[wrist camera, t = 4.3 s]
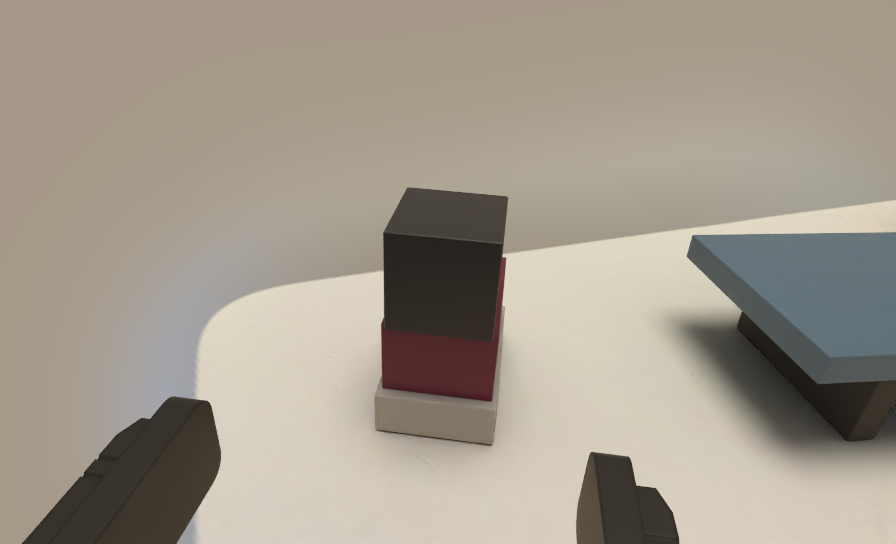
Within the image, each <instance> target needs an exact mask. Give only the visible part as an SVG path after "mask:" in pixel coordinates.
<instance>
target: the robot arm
mask: <svg viewBox="0 0 896 544" xmlns="http://www.w3.org/2000/svg"><path fill="white" fill-rule="evenodd" d="M220 461H221V450H220V445H219V440H218V435H217V431H216V426H215V421H214V416H213V412H212V407H211V405H210V403H209V402H208V401H204V400H196V399H188V398H181V397H170V398H168V399H167V400H166V401H165V402H164V403H163V404H162V405H161V407H160V408H159V409H158V410H157V411H156V413H155V414H154V415H153V416H152V418H151V419H145V418H141V419H139V420H138V421H136V422H135V423H133V424H132V425H130V426H129V427H128V428H126V429H125V430H123V431H122V432H120V433H119V434H117V435H116V436H115V437H114V438H113V440H112V441H111V442H110V443H109V444H108V445H107V446H106V448H105V449H104V450H103V451H102V452H101V453H100V455H99V458H98V460H95V461H94V462H93V463H92V464H91V465H90V466H89V467H88V468H87V470H86V471H85V472H84V476H83V477H80V478H79V479H78V480H77V481H76V482H75V483H74V485H73V486H72V487H71V488H70V489H69V490H68V491H67V493H66V494H65V495H64V496H63V497H62V498H61V499H60V501H59V502H58V503H57V504H56V505H55V507H54V508H53V509H52V510H51V511H50V512H49V513H48V514H47V516H46V517H45V518H44V519H43V520H42V521H41V523H40V524H39V525H38V526H37V527H36V528H35V530H34V531H33V532H32V533H31V534H30V535H29V536H28V538H27V539H26V540H25V541H24V542H23V543H22V544H176V543H177V542H178V540H179V538H180V537H181V535H182V533H183V532H184V530H185V529H186V527H187V525H188V524H189V522H190V520H191V519H192V517H193V515H194V514H195V512H196V510H197V509H198V507H199V505H200V504H201V502H202V500H203V499H204V497H205V496H206V494H207V492H208V491H209V489H210V487H211V486H212V484H213V482H214V480H215V478H216V476H217V473H218V470H219V467H220ZM576 533H577V544H679V536H678V532H677V528H676V524H675V520H674V516H673V512H672V511H671V509H670V508H669V507H668V505H667V504H666V502H665V501H664V499H663V498H662V496H661V495H660V493H659V492H658V491H657V489H656V488H650V487H642V486H636V483H635V478H634V472H633V467H632V463H631V460H630V458H629V457H627V456H619V455H611V454H603V453H596V452H591V453H590V455H589V458H588V463H587V467H586V471H585V476H584V480H583V484H582V489H581V493H580V497H579V502H578V508H577V521H576Z"/></svg>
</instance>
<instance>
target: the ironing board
mask: <svg viewBox="0 0 896 544" xmlns="http://www.w3.org/2000/svg"><path fill="white" fill-rule="evenodd" d="M687 257H688V258H689V259H690V260H691V261H692V262H693V263H694V264H695V265H696V266H697V267H698V268H699V269H700V270H701V271H702V272H703V273H704V274H705V275H706V276H707V277H708V278H709V279H710V280H711V281H712V282H713V283H714V284H715V285H716V286H717V287H718V288H719V289H720V290H721V291H722V292H723V293H725V294H726V295H727V296H728V297H729V298H730V299H731V300H732V301H733V302H734V303H735V304H736V305H737V306H738V307H739V308H740V309H741V310H742V313H741V316H740V319H739V321H738V324H737V327H738V329H739V330H740V331H741V332H742V333H743V334H744V335H745V336H746V337H747V338H748V339H749V340H750V341H751V342H752V343H753V344H754V345H755V346H756V347H757V348H758V349H759V350H760V351H761V352H762V353H763V354H764V355H765V356H766V357H767V358H768V359H769V360H770V362H771V363H772V364H773V365H774V366H775V367H776V368H777V369H778V370H779V371H780V372H781V373H782V374H783V375H784V376H785V377H786V378H787V379H788V380H789V381H790V382H791V383H792V384H793V385H794V386H795V387H796V388H797V389H798V390H799V391H800V392H801V393H802V394H803V396H804V397H805V398H806V399H807V400H808V401H809V402H810V403H811V404H812V405H813V406H814V407H815V408H816V409H817V410H818V411H819V412H820V413H821V414H822V415H823V416H824V417H825V418H826V419H827V420H828V421H829V422H830V423H831V424H832V425H833V426H834V427H835V428H836V430H837V431H838V432H839V433H840V434H841V435H842V436H843V437H844V438H845V439H846V440H848V441H852V440H867V439H873V438H874V437H875V435H876V433H877V431H878V430H879V428H880V426H881V424H882V423H883V421H884V419H885V417H886V415H887V414H888V412H889V410H890V408H891V407H892V405H893V403H894V401H895V400H896V232H891V233H818V234H744V235H693V236H692V240H691V243H690V247H689V250H688V254H687Z"/></svg>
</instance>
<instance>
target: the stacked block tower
mask: <svg viewBox="0 0 896 544" xmlns="http://www.w3.org/2000/svg"><path fill="white" fill-rule="evenodd" d="M507 203H508V197H506V196H496V195H485V194H474V193H463V192H452V191H441V190H430V189H419V188H407V189H406V191H405V193H404V195H403V197H402V199H401V200H400V202H399V204H398V206H397V208H396V210H395V212H394V214H393V216H392V218H391V219H390V221H389V223H388V225H387V227H386V229H385V231H384V234H383V237H384V239H383V240H384V241H383V242H384V318H383V321H382V323H381V340H382V376H381V379H380V382H379V385H378V387H377V390H376V393H375V428H376V429H377V430H383V431H391V432H398V433H406V434H414V435H422V436H429V437H437V438H445V439H452V440H460V441H468V442H475V443H483V444H492V443H493V439H494V431H495V422H496V414H497V403H498V390H499V377H500V364H501V351H502V338H503V325H504V312H505V307H504V306H502V301H503V290H504V278H505V266H506V258H505V257H502V253H503V244H504V233H505V223H506V214H507Z"/></svg>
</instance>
